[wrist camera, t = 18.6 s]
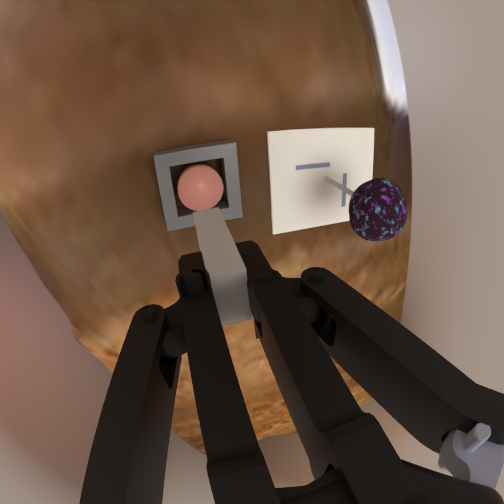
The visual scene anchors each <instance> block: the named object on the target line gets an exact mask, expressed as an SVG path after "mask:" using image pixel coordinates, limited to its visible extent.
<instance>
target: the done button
mask: <svg viewBox="0 0 504 504" xmlns="http://www.w3.org/2000/svg"><path fill="white" fill-rule="evenodd" d="M177 187H178V195H179V198H180V200H181V202H182V203H183V204H184V205H185V206H186V207H187V208H189V209H191V210H195V211H201V210H206V209H210V208H212V207H214V206H215V205H216V204H217V203H218V202H219V200H220V199H221V197H222V194H223V182H222V179H221V178H220V176H219V175H218V173H217V172H216V170H215V169H214V168H213V167H212V166H211V165H209V164H207V163H204V162H194V163H191V164H189V165H187V166H186V167H184V168H183V169H182V171H181V172H180V174H179V176H178V180H177Z"/></svg>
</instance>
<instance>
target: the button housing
mask: <svg viewBox="0 0 504 504" xmlns="http://www.w3.org/2000/svg"><path fill="white" fill-rule="evenodd" d="M218 158H220V164H221V173H222V182H223V191H224V200H219V202H218V203H217V204H216V205H215V206H214V207H212V208H216V207H219V209H220V212H221V214H222V216H223V218H224V220H230V219H235V218H241V217H243V215H242V204H241V193H240V182H239V171H238V160H237V149H236V142H234V141H232V140H231V139H229V140H222V141H215V142H208V143H201V144H195V145H189V146H183V147H177V148H171V149H166V150H161V151H156V152H155V153H154V161H155V167H156V173H157V179H158V184H159V190H160V195H161V200H162V205H163V210H164V215H165V220H166V225H167V230H168V231H172V230H177V229H182V228H187V227H192V226H195V221H194V215H193V212H196V211H195V210H191V209H189V208H187V207H181V208H177V205H176V199H175V193H174V187H173V181H172V175H171V169H170V166H176V165H181V164H187V163H193V162H199V161H205V160H211V159H218ZM210 209H211V208H210Z"/></svg>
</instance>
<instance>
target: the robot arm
mask: <svg viewBox="0 0 504 504" xmlns="http://www.w3.org/2000/svg"><path fill="white" fill-rule="evenodd" d="M193 215H194V221H195V226H196V231H197V236H198V241H199V246H200V252H195V253H191V254H186V255H182V256H181V258H180V260H179V261H178V264H179V274H178V275H177V276H176V280H175V281H176V285H177V288H178V292H179V295H180V299H179V300H178V301H177V302H176V303H175V304H173V305H171V306H170V307H167V308H165V309H163V307H161V306H159V305H155V304H151V305H146V306H144V307H142V308H140V309H139V310H138V311H136V313H135V315H134V316H133V319H132V321H131V324H130V327H129V330H128V332H127V335H126V338H125V340H124V343H123V346H122V349H121V352H120V355H119V358H118V360H117V363H116V366H115V369H114V372H113V375H112V379H111V382H110V385H109V388H108V391H107V395H106V398H105V401H104V404H103V408H102V411H101V415H100V418H99V422H98V425H97V429H96V433H95V436H94V440H93V445H92V448H91V452H90V456H89V461H88V465H87V470H86V474H85V478H84V483H83V488H82V493H81V498H80V504H162V498H163V488H164V479H165V469H166V461H167V453H168V444H169V437H170V430H171V423H172V416H173V409H174V402H175V396H176V390H177V383H178V377H179V371H180V365H181V359H182V357H181V355H182V354H184V353H186V352H187V353H188V360H189V366H190V372H191V378H192V384H193V390H194V395H195V401H196V406H197V411H198V417H199V422H200V427H201V431H202V436H203V441H204V445H205V450H206V454H207V473H208V477H209V482H210V485H211V489H212V493H213V497H214V501H215V504H504V502H503V499H502V497H501V496H500V494H499V493H498V492H497V491H496V490H495V487H496V484H497V482H498V479H499V476H500V473H501V469H502V466H503V463H504V394H502V393H499V392H497V391H494V390H492V389H488V388H486V387H484V386H481V385H478V384H476V383H475V382H473V381H472V380H471V379H470V378H469V377H467V376H466V375H465V374H464V373H462V372H461V371H460V370H459V369H457V368H456V367H455V366H454V365H452V364H451V363H450V362H449V361H447V360H446V359H445V358H444V357H442V356H441V355H440V354H439V353H437V352H436V351H435V350H434V349H432V348H431V347H430V346H428V345H427V344H426V343H425V342H423V341H422V340H421V339H420V338H418V337H417V336H416V335H414V334H413V333H412V332H410V331H409V330H408V329H407V328H405V327H404V326H403V325H401V324H400V323H399V322H397V321H396V320H395V319H393V318H392V317H391V316H390V315H388V314H387V313H386V312H384V311H383V310H382V309H380V308H379V307H378V306H376V305H375V304H374V303H372V302H371V301H370V300H368V299H367V298H366V297H364V296H363V295H362V294H360V293H359V292H357V291H356V290H355V289H353V288H352V287H351V286H349V285H348V284H347V283H345V282H344V281H343V280H341V279H340V278H338V277H337V276H336V275H334V274H333V273H332V272H330V271H329V270H327V269H325V268H320V267H312V268H308V269H306V270H305V271H303V272H302V274H301V278H285V277H282V276H281V274H280V273H279V272H278V271H276V270H273V269H272V268H271V266H270V265H269V263H268V261H267V260H266V258H265V256H264V255H263V253H262V251H261V249H260V248H259V246H258V244H256V243H255V242H253V241H251V240H250V241H245V242H240V243H234V241H233V238H232V236H231V234H230V232H229V229H228V227H227V225H226V223H225V221H224V218H223V216H222V214H221V212H220V209H219V207H216V208H211V209H206V210H201V211H196V212H193ZM251 312H252V315H253V317H254V324H255V333H256V339H257V338H259V339H260V341H261V344H262V346H263V349H264V351H265V354H266V357H267V359H268V361H269V364H270V366H271V369H272V371H273V374H274V376H275V379H276V381H277V384H278V386H279V389H280V391H281V394H282V396H283V398H284V401H285V403H286V406H287V408H288V411H289V413H290V415H291V418H292V420H293V423H294V425H295V427H296V430H297V432H298V434H299V437H300V439H301V441H302V444H303V446H304V448H305V451H306V453H307V455H308V458H309V461H310V466H311V470H312V473H313V476H314V479H315V480H314V481H313V482H311V483H310V484H308V485H305V486H298V487H285V488H275V487H274V484H273V481H272V478H271V476H270V473H269V470H268V467H267V464H266V462H265V459H264V456H263V454H262V452H261V450H260V447H259V444H258V441H257V438H256V435H255V432H254V429H253V426H252V423H251V420H250V417H249V414H248V411H247V408H246V405H245V402H244V398H243V395H242V392H241V389H240V386H239V382H238V379H237V376H236V372H235V369H234V366H233V362H232V359H231V356H230V352H229V349H228V345H227V342H226V338H225V335H224V331H223V328H222V326H224V325H228V324H232V323H237V322H241V321H245V320H249V319H252V315H251ZM329 355H330V356H331V357H332V358H333V359H334V360H335V361H336V362H337V363H338V364H339V365H340V366H341V367H342V368H343V369H344V370H345V371H346V372H347V373H348V374H349V375H350V376H351V377H352V378H353V379H354V380H355V381H356V382H357V383H358V384H359V385H360V386H361V387H362V388H363V389H364V390H365V391H366V392H367V393H368V394H369V395H370V396H372V397H373V398H374V399H375V400H376V401H377V402H378V403H379V404H380V405H381V406H382V407H383V408H384V409H385V410H386V411H387V412H388V413H389V414H390V415H391V416H392V417H393V418H394V419H395V420H396V421H397V422H399V423H400V424H401V425H402V426H403V427H404V428H405V429H406V430H407V431H408V432H409V433H410V434H411V435H413V437H415V438H416V439H417V440H418V441H419V442H420V443H422V444H423V445H425V446H426V447H428V448H429V449H431V450H432V451H434V452H437V453H439V454H440V455H439V457H440V458H439V461H438V464H439V467H440V468H441V469H443V470H448V471H449V472H450V473H451V474H452V475H453V477H452V476H448V475H445V474H442V473H439V472H436V471H433V470H430V469H427V468H424V467H421V466H418V465H415V464H413V463H410V462H407V461H404V460H402V459H400V458H399V456H398V454H397V453H396V451H395V449H394V448H393V446H392V444H391V442H390V441H389V439H388V437H387V436H386V434H385V432H384V431H383V429H382V427H381V426H380V424H379V422H378V421H377V420H376V418H375V417H374V416H373V415H371V414H370V413H364V412H363V411H362V410H361V409H360V407H359V406H358V404H357V402H356V400H355V399H354V397H353V395H352V394H351V392H350V390H349V388H348V387H347V385H346V383H345V382H344V380H343V378H342V376H341V375H340V373H339V371H338V370H337V368H336V366H335V364H334V363H333V361H332V359H331V358H330V356H329Z"/></svg>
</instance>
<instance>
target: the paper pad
mask: <svg viewBox="0 0 504 504" xmlns="http://www.w3.org/2000/svg"><path fill="white" fill-rule="evenodd" d="M267 147H268V164H269V182H270V202H271V222H272V234H273V235H274V234H279V233H284V232H290V231H295V230H301V229H306V228H311V227H317V226H322V225H328V224H333V223H339V222H344V221H350V219H349V202H350V198H351V196H350V195H348V194H347V193H345V192H343V191H342V190H340V189H338V188H337V187H335V186H333V185H332V184H330V183H328V182H327V181H325V179H324V178H325V177H326V176H327V177H329V178H331V179H333V180H335V181H336V182H338V183H340V184H342V185H343V186H345V187H347V188H348V189H350V190H352V191H355V190H356V189H357V188H358V187H359V186H360V185H361V184H363V183H365V182H367V181H369V180H372V172H373V153H374V128H312V129H293V130H279V131H267Z"/></svg>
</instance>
